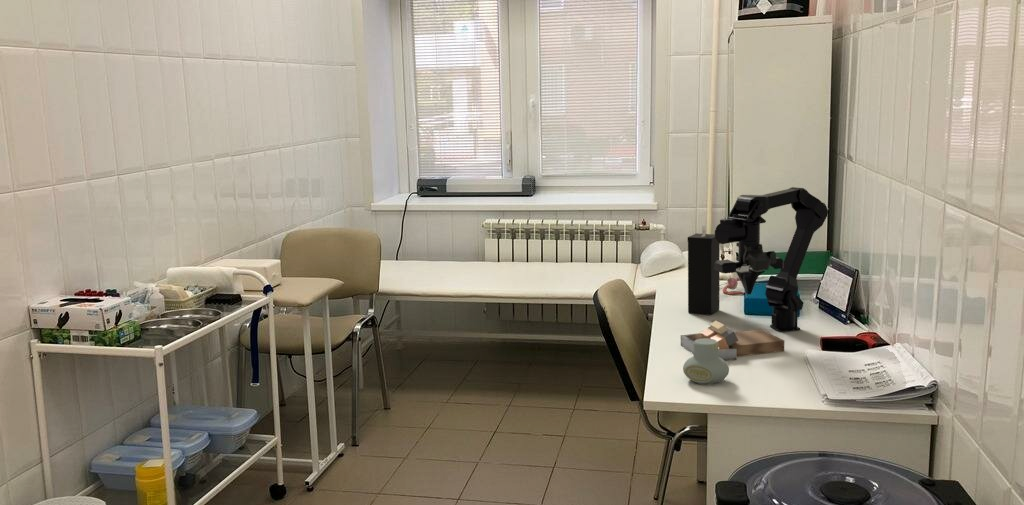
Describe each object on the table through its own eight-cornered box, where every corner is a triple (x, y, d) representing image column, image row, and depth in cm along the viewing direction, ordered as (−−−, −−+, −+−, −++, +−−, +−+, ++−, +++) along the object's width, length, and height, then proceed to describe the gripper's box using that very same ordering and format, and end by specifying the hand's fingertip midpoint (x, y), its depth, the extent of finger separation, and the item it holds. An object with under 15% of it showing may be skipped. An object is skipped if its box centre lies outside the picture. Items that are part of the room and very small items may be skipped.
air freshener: (677, 381, 209) (677, 342, 207) (692, 372, 216) (692, 334, 214) (719, 389, 203) (720, 348, 201) (733, 379, 209) (734, 340, 207)
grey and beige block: (721, 331, 237) (714, 316, 236) (738, 340, 227) (731, 325, 226) (712, 336, 237) (705, 322, 235) (729, 346, 227) (721, 331, 226)
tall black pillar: (719, 310, 276) (720, 224, 271) (711, 315, 270) (711, 228, 265) (696, 307, 280) (696, 223, 275) (687, 313, 274) (687, 226, 269)
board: (761, 339, 241) (761, 329, 241) (784, 351, 230) (784, 340, 229) (712, 344, 238) (712, 334, 238) (733, 357, 227) (733, 346, 226)
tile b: (717, 333, 230) (710, 338, 230) (724, 337, 226) (716, 342, 226) (723, 346, 231) (715, 350, 231) (730, 350, 227) (722, 354, 227)
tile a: (708, 328, 236) (700, 332, 236) (714, 331, 232) (706, 336, 232) (713, 340, 237) (705, 344, 237) (719, 344, 233) (711, 348, 233)
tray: (707, 342, 241) (707, 332, 240) (736, 359, 224) (736, 348, 224) (680, 345, 239) (680, 335, 238) (707, 363, 222) (707, 352, 222)
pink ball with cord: (753, 267, 303) (740, 279, 281) (762, 290, 303) (750, 304, 281) (699, 287, 312) (683, 300, 290) (708, 309, 312) (693, 324, 290)
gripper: (732, 247, 230) (731, 303, 233) (794, 241, 234) (793, 297, 237) (713, 240, 241) (713, 294, 244) (773, 236, 245) (772, 289, 248)
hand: (748, 294), depth 243 cm, fingers closed
